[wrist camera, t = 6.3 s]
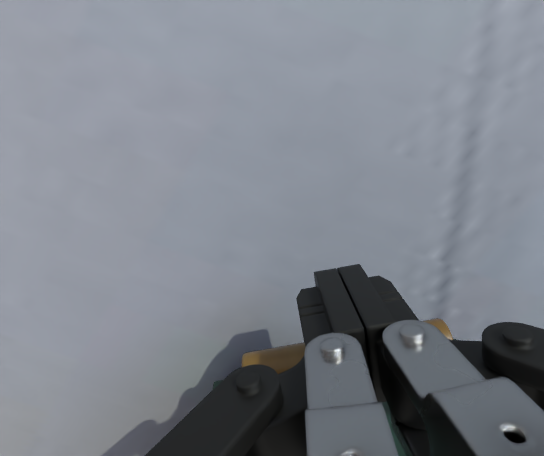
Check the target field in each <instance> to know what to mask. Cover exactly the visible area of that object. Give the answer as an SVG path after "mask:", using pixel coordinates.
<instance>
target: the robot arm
mask: <svg viewBox="0 0 544 456" xmlns="http://www.w3.org/2000/svg"><path fill="white" fill-rule="evenodd" d="M314 278H315V284H316V287H312V288H306V289H301V291H300V293H299V295H298V296H297V298H296V299H297V304H298V310H299V315H300V321H301V326H302V332H303V338H304V343H305V353H304V356H303V358H302V359H301V361H300V362H299V363H298V364H296V365H295V366H294V367H292V368H290V369H288V370H286V371H284V372H282V373H279V374H277V372H276V371H275V370H274V369H272V368H271V367H269V366H266V365H260V364H254V365H248V366H244V367H241V368H239V369H237V370H235V371H233V372H232V373H231V374H229V375H228V376H227V377H226V378H225V379H224V380H223V381H222V382H221V383H220V384H219V385H218V386H217V387H216V388H215V389H214V390H213V391H212V392H210V393H209V394H208V395H207V396H206V397H205V398H204V399H203V400H202V401H201V402H200V403H199V404H198V405H197V406H196V407H195V408H194V409H193V410H192V411H191V412H190V413H189V414H188V415H187V416H186V417H185V418H184V419H183V420H181V421H180V422H179V423H178V424H177V425H176V426H175V427H174V428H173V429H172V430H171V431H170V432H169V433H168V434H167V435H166V436H165V437H164V438H163V439H162V440H161V441H160V442H159V443H158V444H157V445H156V446H155V447H154V448H152V449H151V450H150V451H149V452H148V453H147V454H146V455H145V456H399V455H398V452H397V449H396V446H395V442H394V439H393V436H392V433H391V429H390V426H389V423H388V420H387V416H386V413H385V410H384V407H383V404H382V402H387V404H388V406H389V408H390V416H391V425H392V428H393V431H394V433H395V435H396V437H397V439H398V440H399V442H400V444H401V446H402V448H403V450H404V452H405V454H406V456H544V329H541V328H537V327H534V326H530V325H526V324H522V323H515V322H503V323H496V324H493V325H490V326H488V327H487V328H486V329H485V330H484V331H483V333H482V341H460V340H451V339H447V337H446V336H445V335H444V334H443V333H442V332H441V331H440V330H439V329H438V328H437V327H435V326H433V325H431V324H429V323H426V322H423V321H419V320H418V318H417V317H416V316H415V314H414V313H413V312H412V310H411V309H410V308H409V306H408V305H407V303H406V302H405V301H404V299H402V297H401V295H400V294H399V293H398V292H397V290H396V288H395V287H394V286H393V284H392V283H391V282H390V281H388V280H386V279H384V278H382V277H380V276H374V277H367V275H366V273H365V272H364V270H363V269H362V267H361V265H360V264H357V265H351V266H345V267H340V268H337V269H336V268H335V269H329V270H323V271H318V272H314Z"/></svg>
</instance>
